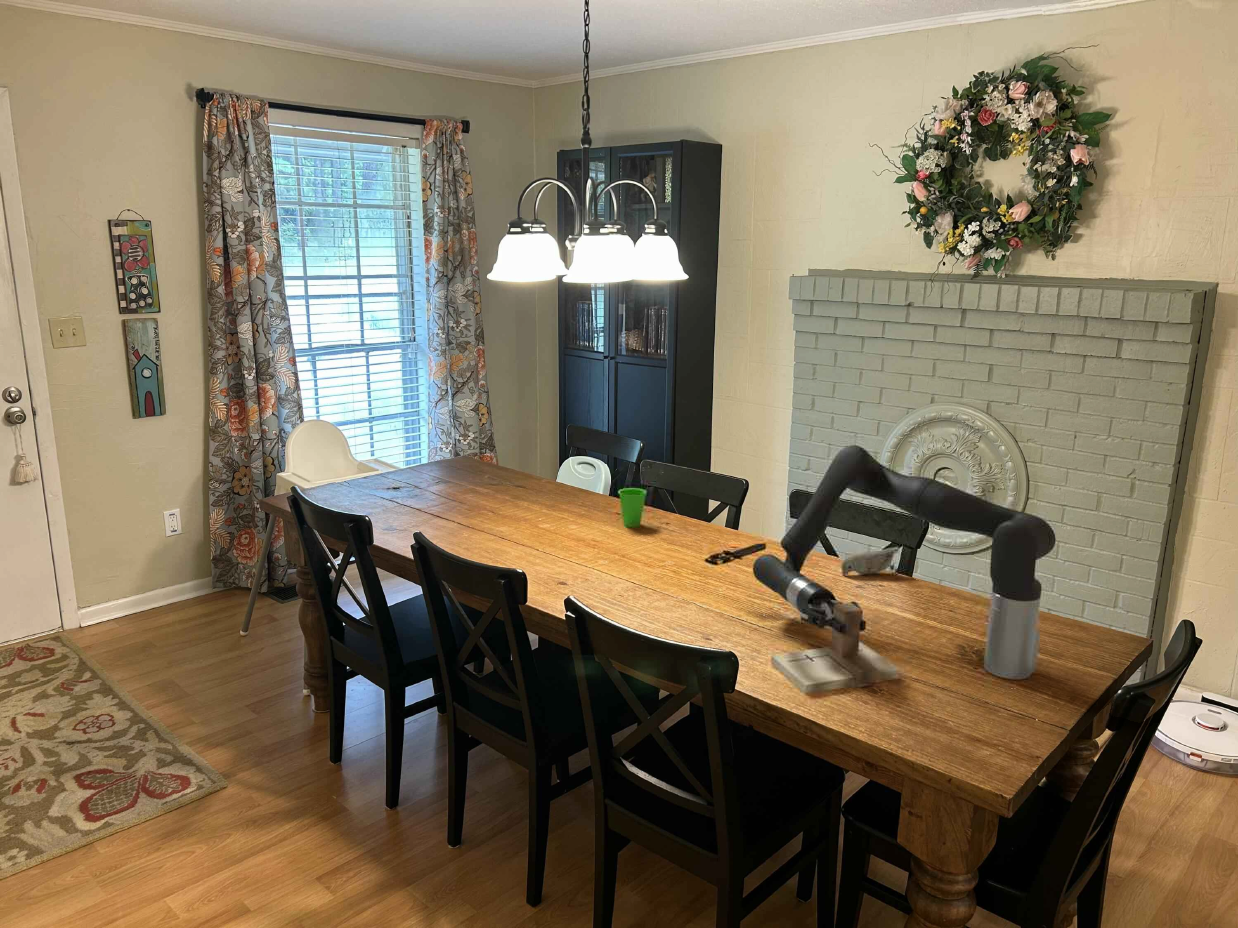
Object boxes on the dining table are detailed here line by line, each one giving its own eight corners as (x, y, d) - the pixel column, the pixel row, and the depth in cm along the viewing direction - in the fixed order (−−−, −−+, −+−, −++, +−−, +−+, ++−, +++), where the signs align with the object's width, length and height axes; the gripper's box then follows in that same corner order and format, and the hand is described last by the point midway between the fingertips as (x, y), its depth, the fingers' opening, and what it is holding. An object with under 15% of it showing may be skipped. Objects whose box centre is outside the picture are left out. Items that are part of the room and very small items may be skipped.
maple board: (859, 650, 200) (860, 641, 200) (898, 678, 187) (899, 669, 187) (770, 664, 193) (771, 655, 192) (805, 694, 180) (805, 684, 180)
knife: (762, 544, 272) (763, 540, 272) (778, 550, 267) (778, 545, 267) (699, 560, 258) (699, 556, 257) (714, 567, 253) (715, 562, 252)
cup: (652, 525, 289) (652, 491, 286) (632, 531, 282) (633, 497, 280) (631, 519, 295) (631, 486, 292) (611, 525, 288) (612, 491, 286)
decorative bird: (837, 572, 248) (839, 546, 247) (892, 569, 251) (894, 544, 249) (845, 579, 243) (847, 553, 242) (901, 576, 246) (903, 550, 244)
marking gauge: (841, 658, 195) (845, 599, 192) (876, 684, 183) (881, 622, 180) (825, 660, 193) (829, 601, 190) (859, 687, 182) (863, 624, 179)
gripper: (782, 585, 198) (825, 615, 183) (839, 578, 203) (885, 606, 187) (780, 618, 200) (822, 649, 184) (836, 610, 205) (882, 640, 189)
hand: (854, 628), depth 186 cm, fingers closed on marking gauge, 4 cm apart
